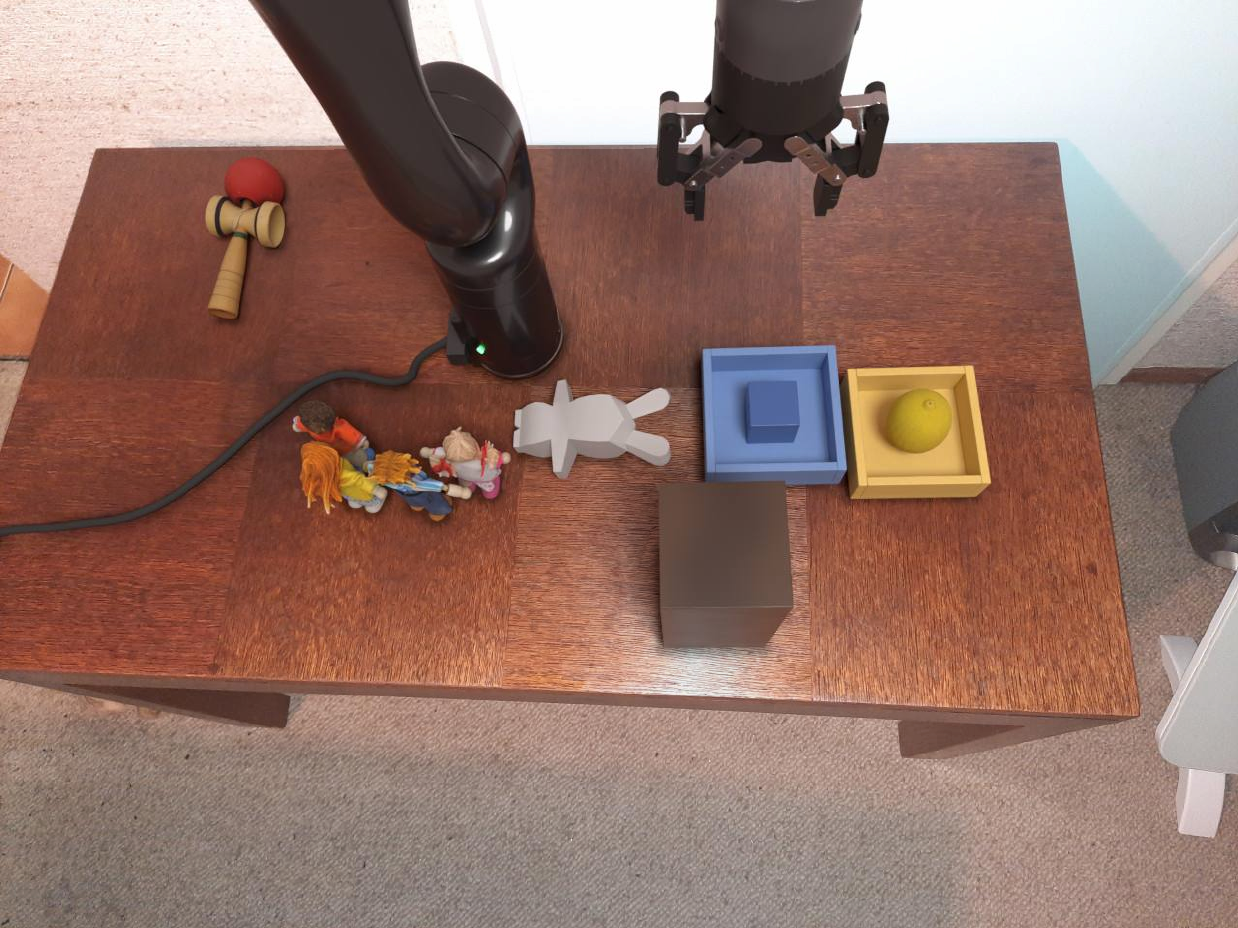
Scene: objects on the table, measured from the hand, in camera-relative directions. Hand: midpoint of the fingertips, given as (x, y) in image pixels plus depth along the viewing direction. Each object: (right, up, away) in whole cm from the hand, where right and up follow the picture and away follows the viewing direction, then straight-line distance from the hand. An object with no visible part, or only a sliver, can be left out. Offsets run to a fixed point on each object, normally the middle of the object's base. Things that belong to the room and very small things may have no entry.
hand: (758, 208), depth 61 cm
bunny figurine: (-12, -16, +23) cm, 31 cm away
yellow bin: (+18, -16, +21) cm, 32 cm away
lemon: (+17, -16, +21) cm, 31 cm away
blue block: (+5, -14, +22) cm, 26 cm away
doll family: (-30, -22, +22) cm, 43 cm away
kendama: (-50, +5, +33) cm, 60 cm away
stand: (-1, -30, +17) cm, 35 cm away
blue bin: (+5, -14, +22) cm, 27 cm away
